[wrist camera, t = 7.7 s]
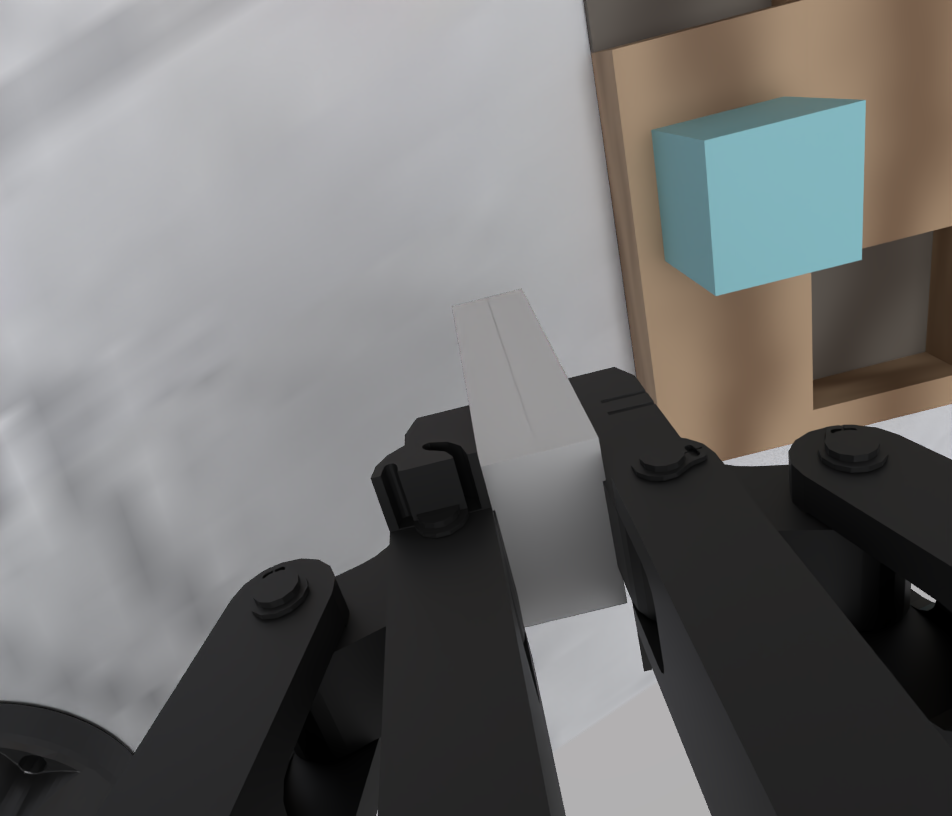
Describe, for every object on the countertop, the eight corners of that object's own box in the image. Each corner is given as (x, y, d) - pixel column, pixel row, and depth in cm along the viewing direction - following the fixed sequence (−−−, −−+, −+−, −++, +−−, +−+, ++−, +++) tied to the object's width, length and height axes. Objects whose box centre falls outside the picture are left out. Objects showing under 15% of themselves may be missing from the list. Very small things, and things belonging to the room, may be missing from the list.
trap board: (646, 444, 35) (681, 498, 30) (512, -508, 20) (543, -677, 16) (937, 371, 34) (1017, 414, 30) (1015, -648, 20) (1192, -859, 15)
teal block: (665, 260, 27) (715, 296, 23) (651, 130, 25) (704, 140, 21) (786, 230, 27) (861, 259, 23) (783, 96, 25) (865, 99, 21)
